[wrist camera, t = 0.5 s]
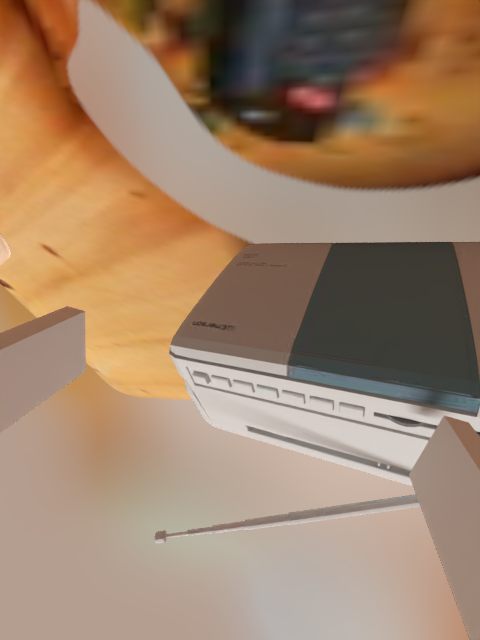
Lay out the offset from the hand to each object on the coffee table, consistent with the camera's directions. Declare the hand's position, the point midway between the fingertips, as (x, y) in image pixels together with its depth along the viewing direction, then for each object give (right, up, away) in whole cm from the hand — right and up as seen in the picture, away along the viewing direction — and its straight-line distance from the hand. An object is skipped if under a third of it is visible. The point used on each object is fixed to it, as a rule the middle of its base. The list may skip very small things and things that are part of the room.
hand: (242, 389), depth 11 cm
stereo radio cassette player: (+11, +6, +12) cm, 17 cm away
